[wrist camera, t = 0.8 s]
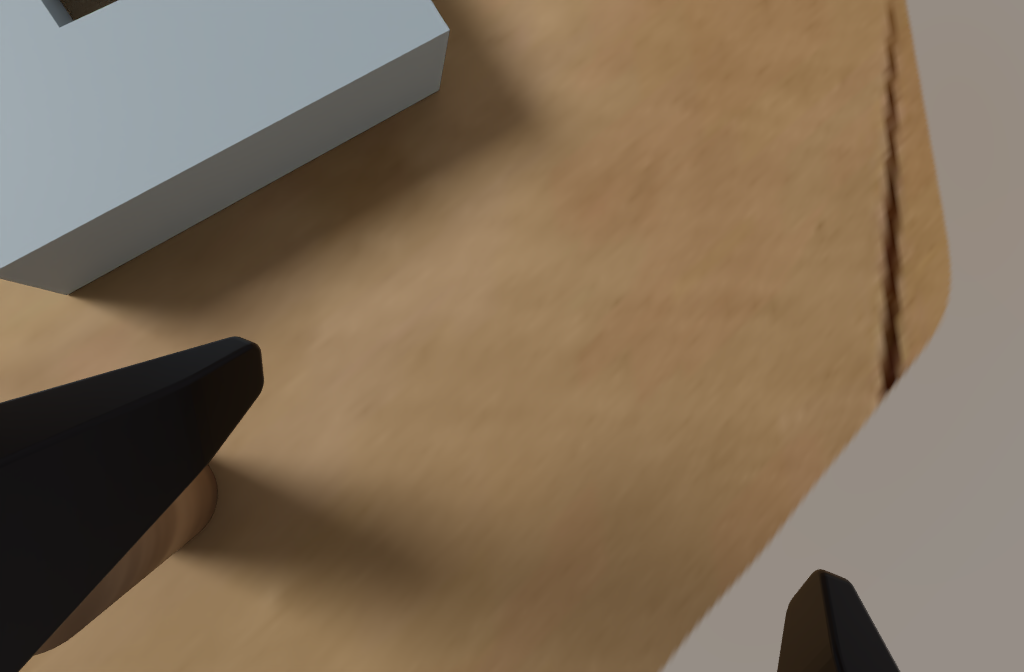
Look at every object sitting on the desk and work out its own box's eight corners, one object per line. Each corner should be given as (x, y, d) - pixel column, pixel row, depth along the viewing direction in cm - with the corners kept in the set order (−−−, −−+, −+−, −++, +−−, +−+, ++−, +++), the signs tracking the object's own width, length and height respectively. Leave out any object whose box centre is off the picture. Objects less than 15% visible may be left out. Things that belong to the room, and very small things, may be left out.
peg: (146, 568, 20) (-14, 694, 12) (87, 484, 20) (-113, 556, 12) (237, 507, 20) (143, 590, 13) (181, 426, 20) (50, 458, 12)
